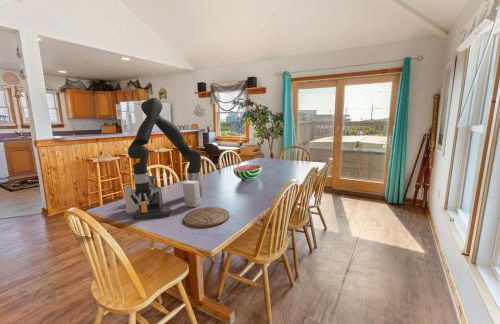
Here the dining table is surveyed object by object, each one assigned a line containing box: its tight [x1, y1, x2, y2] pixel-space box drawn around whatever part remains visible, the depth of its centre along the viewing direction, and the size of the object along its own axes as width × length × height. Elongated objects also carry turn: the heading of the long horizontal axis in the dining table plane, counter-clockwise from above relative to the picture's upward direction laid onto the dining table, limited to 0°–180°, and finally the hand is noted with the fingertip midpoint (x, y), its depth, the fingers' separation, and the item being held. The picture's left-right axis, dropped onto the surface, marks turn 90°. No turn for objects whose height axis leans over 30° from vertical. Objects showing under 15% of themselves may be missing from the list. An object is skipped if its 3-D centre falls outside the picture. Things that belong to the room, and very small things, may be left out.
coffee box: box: [148, 175, 157, 188], centre depth 172 cm, size 9×6×16 cm
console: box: [132, 206, 171, 221], centre depth 144 cm, size 19×8×3 cm, turn 103°
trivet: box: [183, 206, 230, 229], centre depth 139 cm, size 25×25×2 cm
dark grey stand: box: [127, 186, 164, 216], centre depth 153 cm, size 18×12×12 cm
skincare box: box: [182, 180, 202, 208], centre depth 158 cm, size 8×7×16 cm
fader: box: [141, 201, 148, 213], centre depth 143 cm, size 3×4×5 cm
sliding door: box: [123, 184, 140, 214], centre depth 147 cm, size 9×2×16 cm, turn 103°
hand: (145, 210), depth 143 cm, fingers closed on fader, 3 cm apart
